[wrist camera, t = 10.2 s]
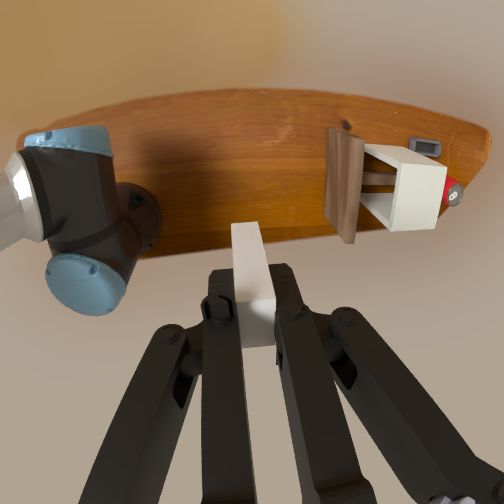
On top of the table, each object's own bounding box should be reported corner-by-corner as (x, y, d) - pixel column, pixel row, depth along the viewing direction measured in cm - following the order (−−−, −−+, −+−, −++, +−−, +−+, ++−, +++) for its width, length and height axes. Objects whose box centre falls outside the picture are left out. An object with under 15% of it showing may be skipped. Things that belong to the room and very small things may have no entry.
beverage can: (431, 178, 51) (465, 199, 41) (416, 189, 53) (449, 212, 42) (425, 159, 49) (461, 177, 39) (409, 170, 50) (444, 190, 40)
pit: (408, 152, 48) (412, 154, 46) (409, 136, 46) (414, 138, 45) (434, 155, 48) (439, 157, 47) (436, 140, 47) (441, 142, 45)
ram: (323, 213, 54) (345, 244, 44) (327, 127, 45) (355, 138, 35) (407, 210, 55) (437, 236, 45) (417, 135, 46) (455, 150, 36)
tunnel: (356, 198, 53) (390, 231, 41) (361, 143, 47) (401, 163, 35) (396, 198, 53) (434, 228, 41) (402, 146, 47) (447, 167, 35)
